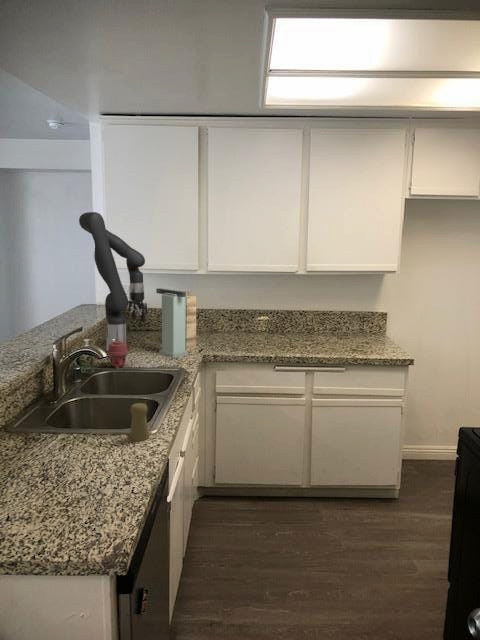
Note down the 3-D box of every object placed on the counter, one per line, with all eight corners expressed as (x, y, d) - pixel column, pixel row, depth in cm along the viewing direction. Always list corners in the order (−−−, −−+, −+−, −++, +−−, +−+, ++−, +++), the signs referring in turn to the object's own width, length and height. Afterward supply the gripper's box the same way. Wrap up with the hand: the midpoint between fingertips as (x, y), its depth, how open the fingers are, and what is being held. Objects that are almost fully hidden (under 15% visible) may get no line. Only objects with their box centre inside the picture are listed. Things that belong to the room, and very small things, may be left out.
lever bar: (185, 296, 250) (185, 292, 249) (181, 297, 248) (182, 292, 248) (160, 292, 265) (160, 288, 264) (156, 293, 263) (156, 288, 263)
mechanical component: (119, 370, 226) (102, 367, 230) (133, 366, 235) (117, 363, 239) (118, 345, 224) (102, 342, 228) (132, 341, 233) (116, 338, 237)
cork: (150, 434, 155) (150, 401, 153) (147, 441, 149) (147, 407, 147) (131, 433, 154) (131, 400, 153) (127, 441, 148) (127, 407, 147)
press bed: (195, 348, 275) (196, 296, 270) (186, 350, 270) (186, 297, 265) (184, 345, 281) (184, 294, 276) (175, 347, 276) (175, 295, 271)
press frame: (187, 354, 260) (188, 293, 254) (173, 357, 252) (173, 295, 247) (174, 350, 268) (174, 291, 262) (159, 353, 261) (159, 293, 255)
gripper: (123, 290, 260) (124, 320, 264) (138, 293, 251) (139, 323, 254) (135, 289, 266) (136, 318, 269) (150, 291, 256) (151, 321, 259)
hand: (138, 320), depth 261 cm, fingers open, 8 cm apart
